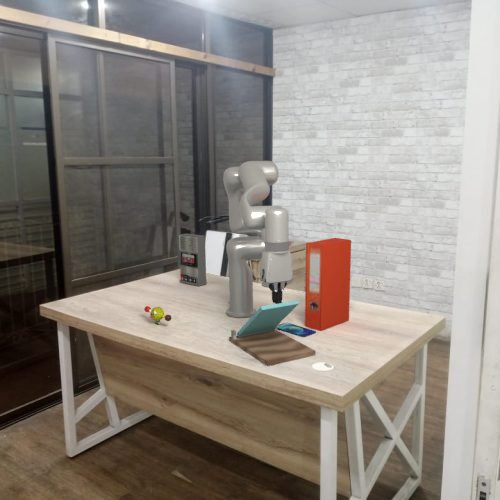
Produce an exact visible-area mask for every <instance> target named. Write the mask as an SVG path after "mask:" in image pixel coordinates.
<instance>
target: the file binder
mask: <svg viewBox="0 0 500 500" xmlns="http://www.w3.org/2000/svg"><path fill="white" fill-rule="evenodd" d="M351 255H352V240H351V239H346V238H339V237H331V238H326V239H322V240H317V241H312V242H311V241H310V242H307V243H305V286H304V288H305V291H304V293H305V294H304V296H305V298H304V299H305V301H304V302H305V303H304V326H305V328H307V329H311V330H314V331H319V332H323V331H325V330H328V329H330V328H333V327H335V326H338V325H341V324H344V323H346V322H348V321H350V295H351V293H350V292H351V289H350V288H351V264H352V263H351V262H352V261H351V258H352V256H351Z"/></svg>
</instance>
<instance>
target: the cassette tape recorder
mask: <svg viewBox="0 0 500 500" xmlns="http://www.w3.org/2000/svg"><path fill="white" fill-rule="evenodd" d="M178 244H179V245H178V247H179V250H178V251H179V273H180V274H179V276H180V279H179V283H181V284H187V285H191V286H196V287H201V286H204V285H205V286H206V285H207V284H208V282H207V266H206V261H207V260H206V257H207V256H206V254H207V253H206V235H204V234H202V235H201V234H195V233H181V234H178Z"/></svg>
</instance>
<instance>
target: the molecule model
mask: <svg viewBox="0 0 500 500" xmlns="http://www.w3.org/2000/svg"><path fill="white" fill-rule="evenodd" d="M144 312H145V313H149V314H150V316H149V317H150V318H151V319H152V320H154V321H155V322H154V324H155V325H157V326H158V325H161V320H162V319H163V318H164V320H165V321H166V322H170V321H171V320H172V315H170V314H166V315H165V310H164V309H163V308H162V307H160V306H154V307H150V306H148V305H147V306H145V307H144Z"/></svg>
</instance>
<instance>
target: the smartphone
mask: <svg viewBox="0 0 500 500" xmlns="http://www.w3.org/2000/svg"><path fill="white" fill-rule="evenodd" d="M277 331H280V332H284V333H288V334H291V335H294V336H297V337H301V338H306V337H309V336H312V335H314V334H316V333H317V330H315V329H311V328H308V327H303V326H300V325H297V324H294V323H290V322H283V323H281V324H280V323H279V324H278V325H277Z"/></svg>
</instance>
